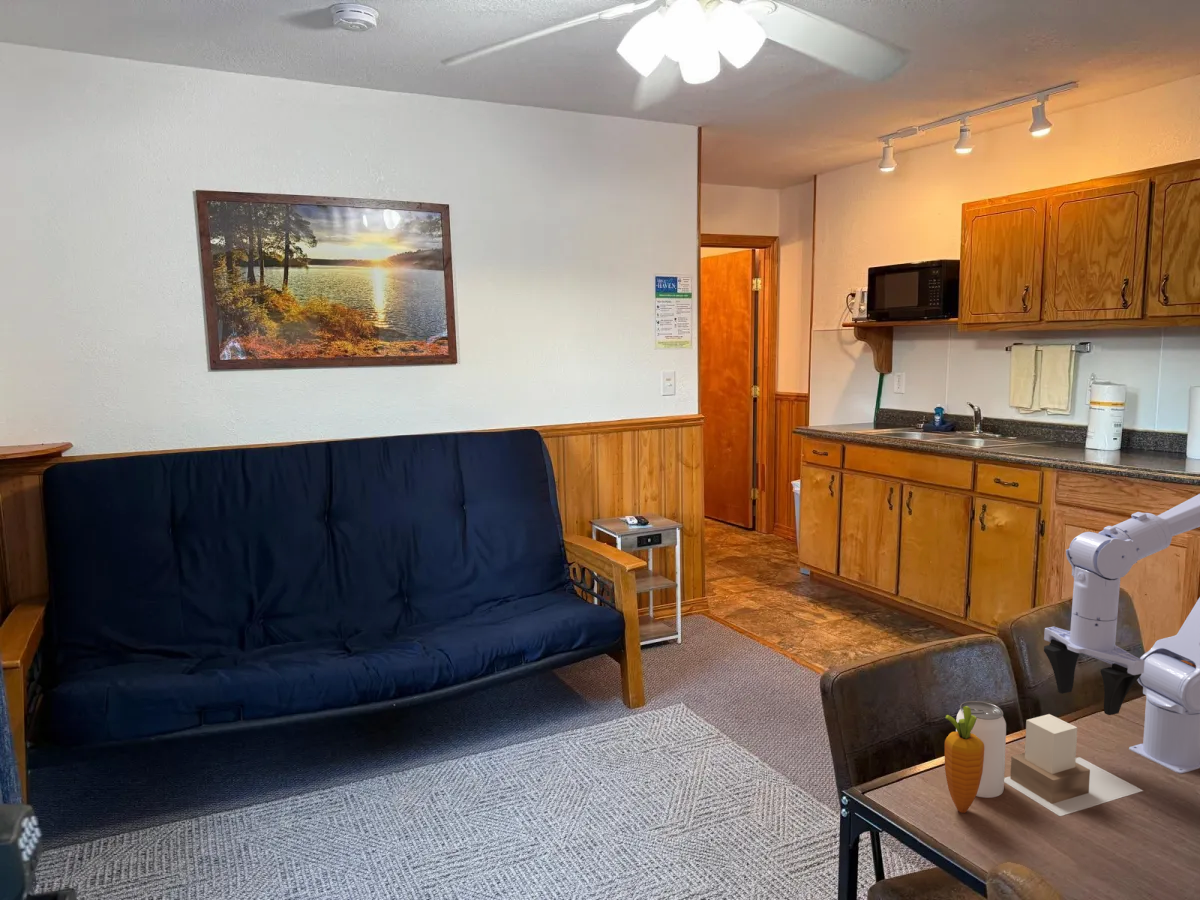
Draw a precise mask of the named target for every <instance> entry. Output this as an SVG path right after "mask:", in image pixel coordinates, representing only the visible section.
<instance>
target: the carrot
mask: <svg viewBox="0 0 1200 900" xmlns="http://www.w3.org/2000/svg"><path fill="white" fill-rule="evenodd" d="M963 713H964V719H960V720H959V722H958V723H957V721H956V718H954V717H952V716H951V715H949V714H946V715H945V719H946V720H948V721H949V722H950V723H951V724H952V725H953V726H954V728H955V730H956V729H957V732H956V731H951V732H950V733H948V736H946V738H945V739H944V771H945V772H944V773H945V778H946V782H947V783H946V785H947V788H948V792H949V794H950V797H951V800H952V802H953V804H954V806H955V809H956V810H957V811H958V812H959V813H962V814H965V813H967V812H968V810H969V809H970V807H971V806H972V804H973V802H974V800H975V799H976V797H977V796H976V795H977V792H978V788H979V785H980V781H981V777H982V771H983V761H984V743H983V742H982V741H981V740H980V739H979V738H978V737H977V736H976V735H975V734H972V733H971V730H972V729H973V727H974V725H975V722H976V719H977V718H976V717H975V716H974V715H972V716H971V708H969V707H967V706H965V707H963Z"/></svg>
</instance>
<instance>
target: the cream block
mask: <svg viewBox="0 0 1200 900" xmlns="http://www.w3.org/2000/svg"><path fill="white" fill-rule="evenodd" d="M1077 741H1078V727H1077V726H1075V725H1073V724H1071V723H1069V722H1067V721H1064V720H1062V719H1061V718H1059V717H1057V716H1054V715H1052V714H1050V713H1048V714H1044V715H1040V716H1036V717H1033V718H1029V719H1026V722H1025V745H1024V753H1025V759H1026V760H1028V761H1029V762H1031V763H1033V764H1035V765H1037V766H1038V767H1040V768H1042V769H1044V770H1046V771H1047V772H1049V773H1051V774H1054V773H1058V772H1061V771H1064V770H1068V769H1071V768H1074V767H1075V762H1076V758H1077V743H1078V742H1077Z"/></svg>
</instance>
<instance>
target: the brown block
mask: <svg viewBox="0 0 1200 900" xmlns="http://www.w3.org/2000/svg"><path fill="white" fill-rule="evenodd" d="M1010 758H1011V759H1010V779H1012V780H1013V781H1015V782H1017V783H1018V784H1020V785H1022V786H1023V787H1025V788H1027V789H1028V790H1030V791H1031V792H1033V793H1035V794H1036V795H1038V796H1040V797H1041V798H1043V799H1045V800H1046V801H1048V802H1050V803H1051V804H1053V803H1057V802H1060V801H1063V800H1067V799H1070V798H1074V797H1077V796H1080V795H1084V794H1087V793H1089V780H1090V770H1089V769H1087V768H1086V767H1084V766H1082V765H1080V764H1078V763H1076V762H1075V767H1074V768H1071V769H1068V770H1064V771H1061V772H1058V773H1054V774H1051V773H1049V772H1047V771H1046V770H1044V769H1042V768H1040V767H1038V766H1037V765H1035V764H1033V763H1031V762H1029V761H1028V760H1026V759H1025V752H1023V753H1019V754H1015V755H1012V756H1011V757H1010Z"/></svg>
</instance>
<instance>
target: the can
mask: <svg viewBox="0 0 1200 900" xmlns="http://www.w3.org/2000/svg"><path fill="white" fill-rule="evenodd" d="M965 706H967V707H969V708H971V716H972V715H974V716H975V717H976V718H977V719H976V722H975V725H974V727H973V729H972V730H971V733H972V734H975V735H976V736H977V737H978V738H979V739H980V740H981V741H982V742H983V743H984V761H983V771H982V777H981V781H980V785H979V788H978V792H977V795H976V797H979V798H986V799H987V798H990V799H991V798H996V797H999V796H1001V795H1002V794H1003V792H1004V788H1005V782H1004V778H1005V772H1006V771H1005V769H1006V768H1005V767H1006V766H1005V765H1006V743H1007V742H1006V741H1007V739H1006V737H1007V722H1006V720H1005V718H1004V712H1003V711H1004V710H1002V709H1001V708H1000V707H999V706H997V705H995V704H993V703H989V702H986V701H981V700H980V701H979V700H969V701H965V702H962V703H961V704H960V706H959V710H958V713H957V715H956V718H955V720H956V721H957V723H958V722H959V720H960V719H964V713H963V707H965ZM955 732H957V729H956V728H955Z"/></svg>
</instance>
